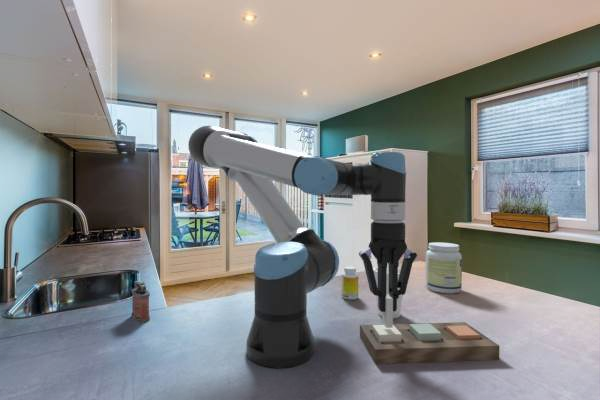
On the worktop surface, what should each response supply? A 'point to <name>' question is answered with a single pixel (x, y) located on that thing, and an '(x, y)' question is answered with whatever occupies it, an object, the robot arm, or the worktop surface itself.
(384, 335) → the cream tile
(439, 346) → the walnut board
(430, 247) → the supplement tub
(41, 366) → the worktop surface
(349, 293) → the supplement bottle
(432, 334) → the sage tile
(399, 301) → the foam cup
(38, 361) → the worktop surface
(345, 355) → the worktop surface
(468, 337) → the terracotta tile
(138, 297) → the lighter
